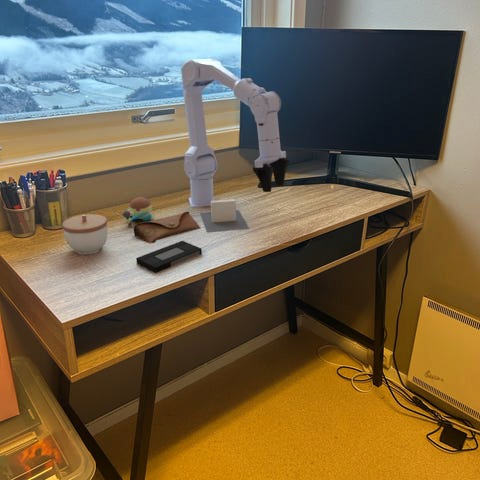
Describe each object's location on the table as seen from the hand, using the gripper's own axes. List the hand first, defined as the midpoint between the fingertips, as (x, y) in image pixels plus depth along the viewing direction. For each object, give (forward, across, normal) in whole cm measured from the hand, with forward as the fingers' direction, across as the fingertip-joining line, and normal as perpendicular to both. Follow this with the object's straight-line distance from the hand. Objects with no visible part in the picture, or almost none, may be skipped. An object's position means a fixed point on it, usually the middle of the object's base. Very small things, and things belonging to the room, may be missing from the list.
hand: (273, 188), depth 133 cm
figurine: (+6, -17, +38) cm, 42 cm away
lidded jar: (+7, -39, +34) cm, 52 cm away
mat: (+9, -5, +15) cm, 18 cm away
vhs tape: (+11, -33, +13) cm, 37 cm away
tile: (+8, -5, +15) cm, 18 cm away
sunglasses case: (+9, -19, +24) cm, 32 cm away
